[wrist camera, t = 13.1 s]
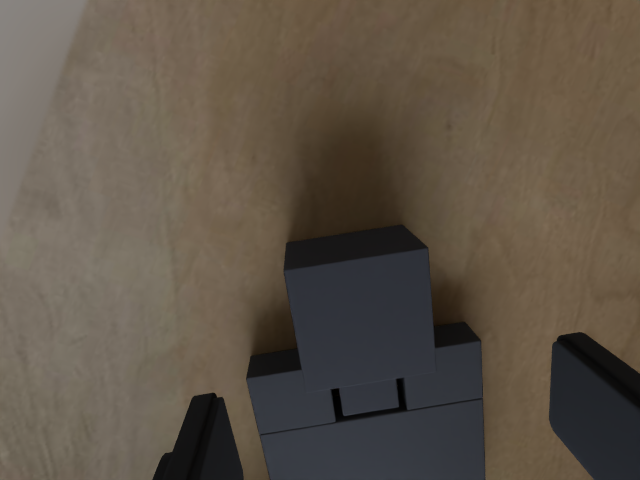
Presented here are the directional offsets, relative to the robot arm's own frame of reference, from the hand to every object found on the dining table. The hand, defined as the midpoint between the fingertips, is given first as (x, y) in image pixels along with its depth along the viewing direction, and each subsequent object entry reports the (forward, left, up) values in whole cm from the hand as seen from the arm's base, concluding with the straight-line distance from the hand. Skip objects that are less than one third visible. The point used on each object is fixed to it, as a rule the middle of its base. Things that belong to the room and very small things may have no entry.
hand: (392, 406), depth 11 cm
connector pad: (+2, 0, -10) cm, 10 cm away
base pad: (+10, 0, -10) cm, 14 cm away
